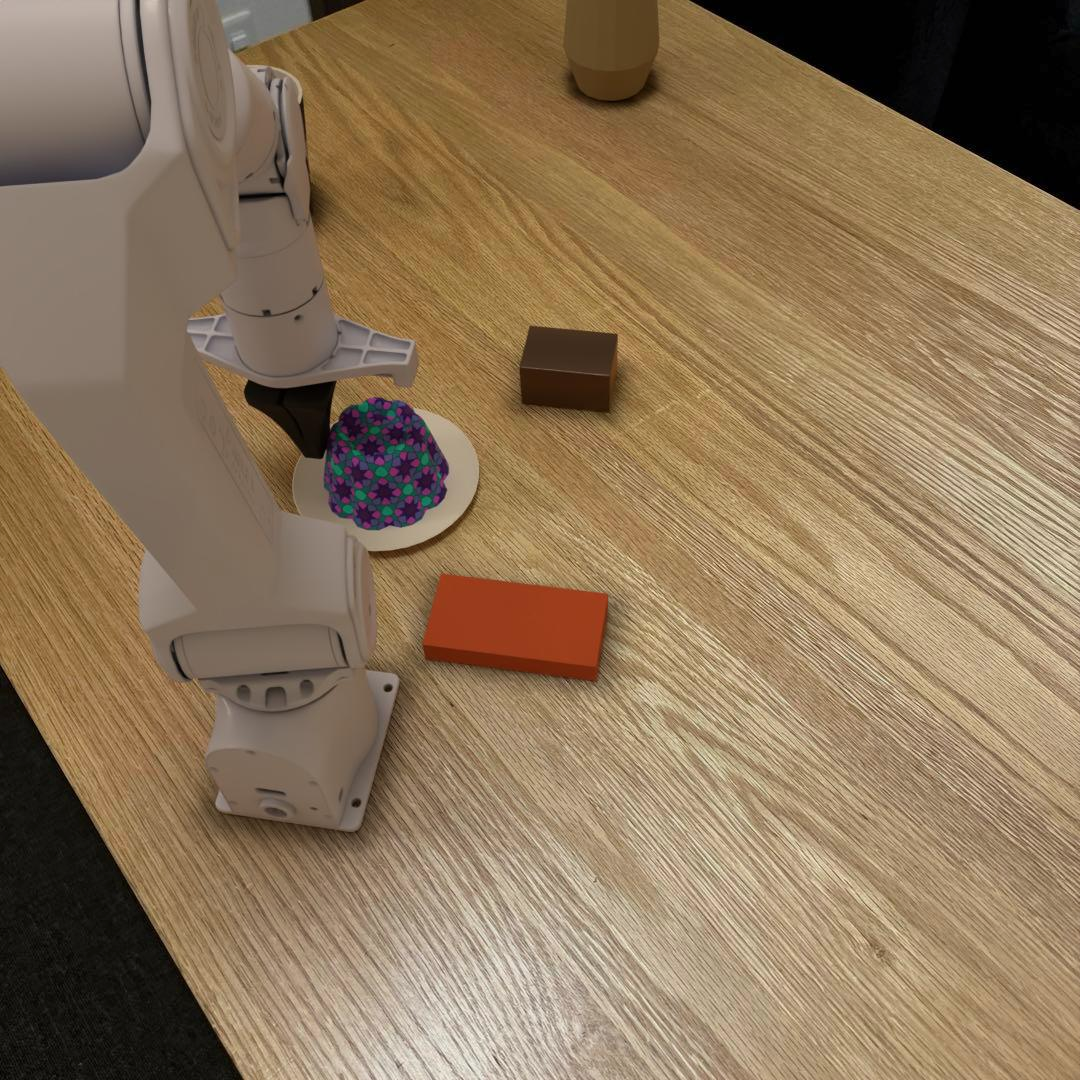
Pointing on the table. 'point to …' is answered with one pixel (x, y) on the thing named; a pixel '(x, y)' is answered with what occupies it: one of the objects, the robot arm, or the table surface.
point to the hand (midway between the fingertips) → (317, 446)
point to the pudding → (389, 475)
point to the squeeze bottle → (611, 45)
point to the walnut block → (569, 368)
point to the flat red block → (516, 626)
